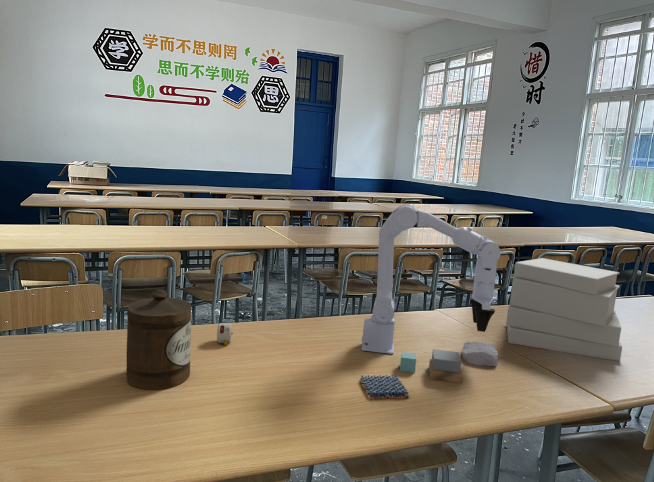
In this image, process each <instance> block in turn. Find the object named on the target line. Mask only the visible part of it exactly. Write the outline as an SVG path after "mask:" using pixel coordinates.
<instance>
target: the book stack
mask: <svg viewBox="0 0 654 482" xmlns="http://www.w3.org/2000/svg"><path fill="white" fill-rule="evenodd" d="M620 274H621V273H620V272H619V271H613V270H608V269H603V268H602V269H601V268H596V267H591V266H588V265H587V266H585V265H581V264H576V263H571V262H565V261H560V260H556V259H555V260H553V259H550V258H544V257H539V258H535V259H527V260H523V261H516V262H515V265H514V273H513V279H512V284H511V292H510V298H509V305H508V307H507V316H506V324H505V326H506V329H507V343H509V344H512V345H513V344H514V345H518V344H519V346H524V345H525V347H530V348H538V349H542V350H543V349H545V350H547V351H548V350H549V351H555V352H560V353H561V352H563V353H566V354H567V353H568V354H574V355H580V356H584V357H585V356H586V357H592V358H598V359H602V360H603V359H604V360H609V361H615V362H620V361H621V357H622V351H623V344H621V342H620V338H621V332H622V326H621V322H620V319H619V318H618V317H619V316H618V315H617V311H616V310H615V306H616V305H615V304H616V299H617V293H618V290H619V288H620V287H621V286H620V285H619V284H616V282H617V277H618V275H620Z"/></svg>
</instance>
